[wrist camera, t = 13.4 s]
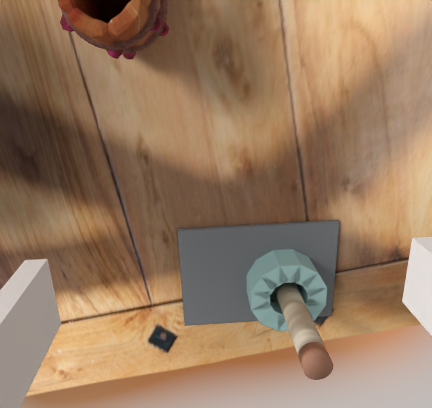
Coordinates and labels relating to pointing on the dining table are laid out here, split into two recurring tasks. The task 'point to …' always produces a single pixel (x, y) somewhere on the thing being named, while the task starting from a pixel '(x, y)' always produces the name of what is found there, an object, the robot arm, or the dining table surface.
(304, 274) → the bead
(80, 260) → the dining table surface
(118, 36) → the wooden banded keg
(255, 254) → the mat
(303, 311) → the dowel
